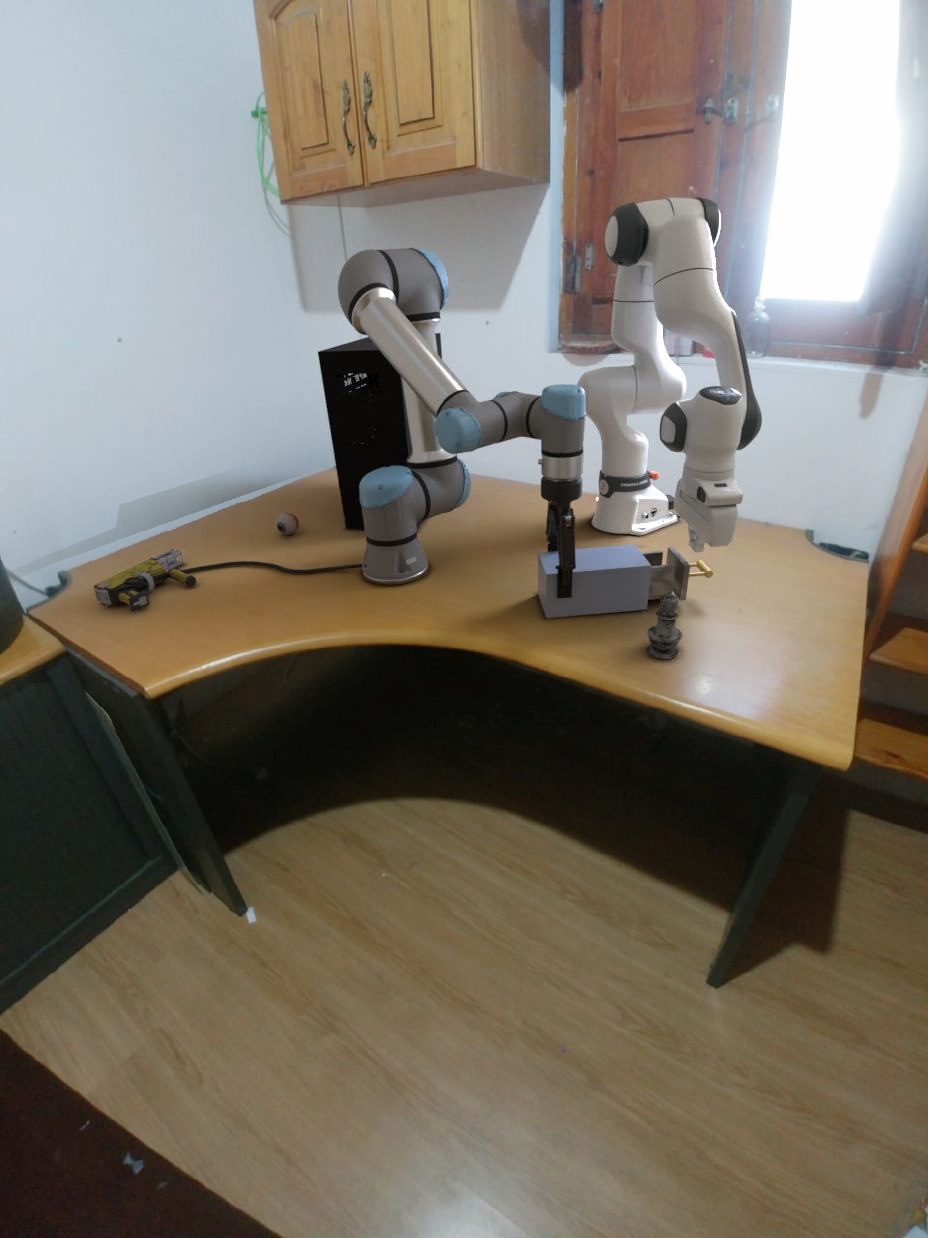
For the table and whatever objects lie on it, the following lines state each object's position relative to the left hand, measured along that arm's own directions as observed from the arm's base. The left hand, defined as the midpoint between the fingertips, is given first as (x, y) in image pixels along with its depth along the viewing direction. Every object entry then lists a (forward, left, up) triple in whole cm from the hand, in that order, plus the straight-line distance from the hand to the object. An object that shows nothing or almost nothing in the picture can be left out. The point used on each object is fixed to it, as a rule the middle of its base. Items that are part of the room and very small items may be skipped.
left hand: (558, 584), depth 121 cm
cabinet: (+6, +3, -5) cm, 8 cm away
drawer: (+16, +8, -3) cm, 18 cm away
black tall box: (-62, +42, -5) cm, 75 cm away
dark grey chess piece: (+22, -10, -5) cm, 25 cm away
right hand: (+24, +13, +5) cm, 28 cm away
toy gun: (-88, -23, -5) cm, 91 cm away
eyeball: (-81, +14, -5) cm, 82 cm away
